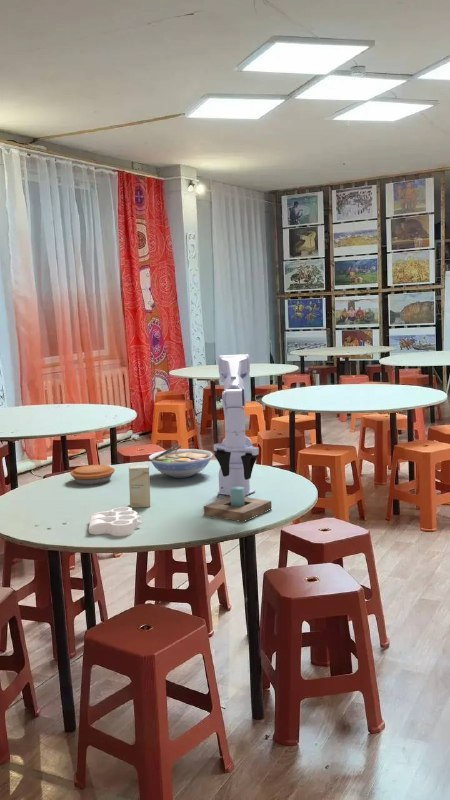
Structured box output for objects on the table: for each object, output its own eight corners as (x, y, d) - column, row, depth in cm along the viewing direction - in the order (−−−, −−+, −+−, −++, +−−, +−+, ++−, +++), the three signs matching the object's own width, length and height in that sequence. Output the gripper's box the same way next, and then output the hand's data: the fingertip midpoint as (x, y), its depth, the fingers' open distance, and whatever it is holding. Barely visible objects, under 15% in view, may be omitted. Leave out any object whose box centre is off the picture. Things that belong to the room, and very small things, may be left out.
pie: (117, 484, 247) (116, 470, 246) (71, 488, 243) (70, 474, 243) (113, 474, 262) (112, 461, 261) (70, 478, 258) (69, 464, 257)
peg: (228, 512, 208) (227, 488, 207) (237, 509, 211) (236, 485, 210) (239, 514, 205) (238, 490, 204) (247, 511, 208) (247, 487, 207)
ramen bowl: (197, 486, 240) (196, 462, 239) (136, 482, 248) (135, 459, 247) (224, 469, 263) (223, 447, 262) (167, 466, 271) (166, 445, 270)
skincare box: (130, 508, 216) (127, 468, 214) (130, 504, 220) (128, 465, 219) (151, 506, 217) (149, 467, 215) (151, 502, 221) (149, 464, 219)
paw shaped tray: (91, 520, 206) (142, 516, 208) (88, 540, 189) (144, 535, 191) (90, 509, 206) (141, 505, 208) (87, 527, 188) (143, 523, 190)
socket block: (204, 514, 206) (203, 506, 206) (232, 502, 217) (232, 494, 217) (243, 521, 198) (243, 513, 198) (271, 509, 209) (271, 501, 209)
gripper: (206, 431, 206) (208, 477, 208) (248, 435, 197) (249, 483, 199) (221, 427, 211) (223, 472, 213) (262, 430, 203) (263, 477, 204)
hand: (236, 477), depth 206 cm, fingers open, 7 cm apart
